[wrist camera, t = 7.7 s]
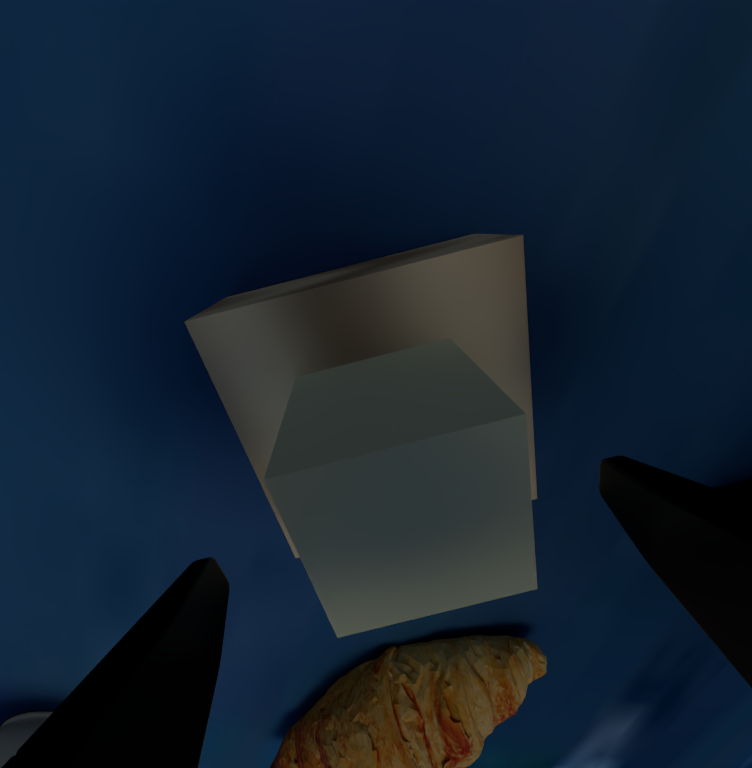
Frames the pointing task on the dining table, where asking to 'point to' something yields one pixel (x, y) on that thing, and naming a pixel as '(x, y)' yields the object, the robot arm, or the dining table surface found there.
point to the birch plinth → (367, 330)
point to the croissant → (416, 706)
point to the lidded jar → (19, 732)
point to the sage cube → (405, 487)
